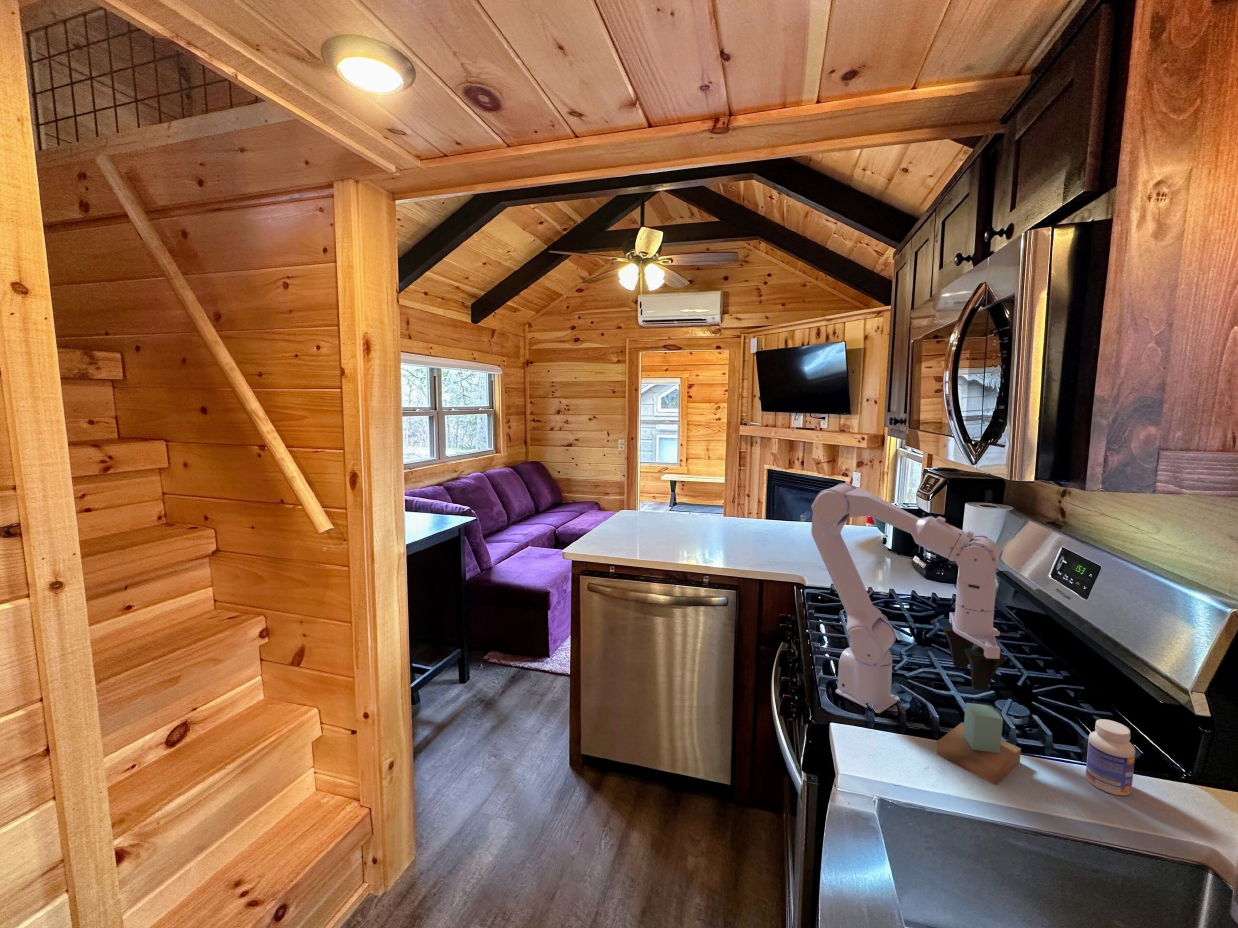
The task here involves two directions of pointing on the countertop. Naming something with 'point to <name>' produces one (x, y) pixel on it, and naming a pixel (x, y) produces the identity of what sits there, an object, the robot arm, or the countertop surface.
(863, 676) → the robot arm
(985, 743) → the gray-green block
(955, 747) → the walnut block
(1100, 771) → the pill bottle
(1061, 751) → the countertop surface
